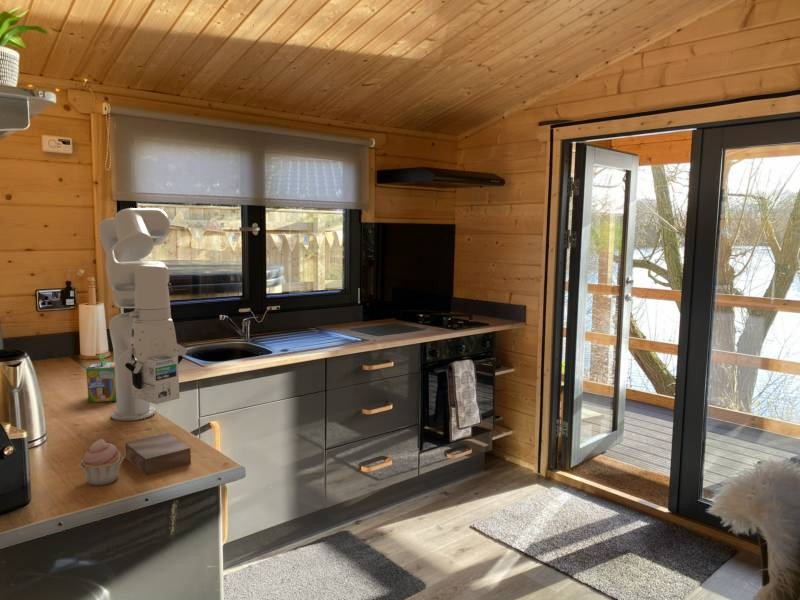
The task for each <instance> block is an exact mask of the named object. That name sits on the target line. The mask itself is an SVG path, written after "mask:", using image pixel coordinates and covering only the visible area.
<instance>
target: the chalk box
mask: <svg viewBox="0 0 800 600" xmlns="http://www.w3.org/2000/svg"><path fill="white" fill-rule="evenodd" d="M98 360H99V362H92V363H91V364H90V365H89V366H87V368H86V369H85V372H86V385H87V395H88V396H87V397H88V399H87V400H88V401H87V402H88V403H89V402H90V403H89V404H91V402H94V403H103V402H116V386H115V366H114V361H106V360H105V357H104V354H103V353H101V354H100V355H99V356H98Z"/></svg>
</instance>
